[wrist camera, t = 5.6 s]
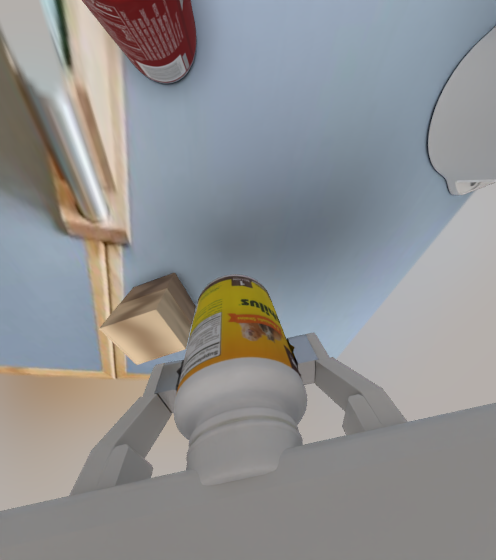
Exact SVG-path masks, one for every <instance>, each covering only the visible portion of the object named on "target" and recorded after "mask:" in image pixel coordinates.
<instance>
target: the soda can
mask: <svg viewBox="0 0 496 560" xmlns="http://www.w3.org/2000/svg"><path fill="white" fill-rule="evenodd" d="M82 1H83V2H84V4H85V5H86V6H87V7H88V9H89V10H90V11H91V12H92V14H93V15H94V16H95V17H96V19H97V20H98V21H99V22H100V24H101V25H102V26H103V27H104V29H105V30H106V31H107V32H108V34H109V35H110V36H111V37H112V39H113V40H114V41H115V42H116V43H117V45H118V46H119V47H120V48H121V50H122V51H123V52H124V53H125V55H126V56H127V57H128V58H129V60H130V61H131V62H132V63H133V65H134V66H135V67H136V68H137V69H138V70H139V71H140V72H141V73H142V74H144V75H145V76H146V77H148V78H149V79H151V80H153V81H156V82H159V83H165V84H166V83H173V82H176V81H178V80H180V79H181V78H183V77H184V76H185V75H186V74H187V72H188V71H189V69H190V67H191V65H192V63H193V60H194V57H195V52H196V27H195V21H194V16H193V11H192V6H191V0H82Z"/></svg>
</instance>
